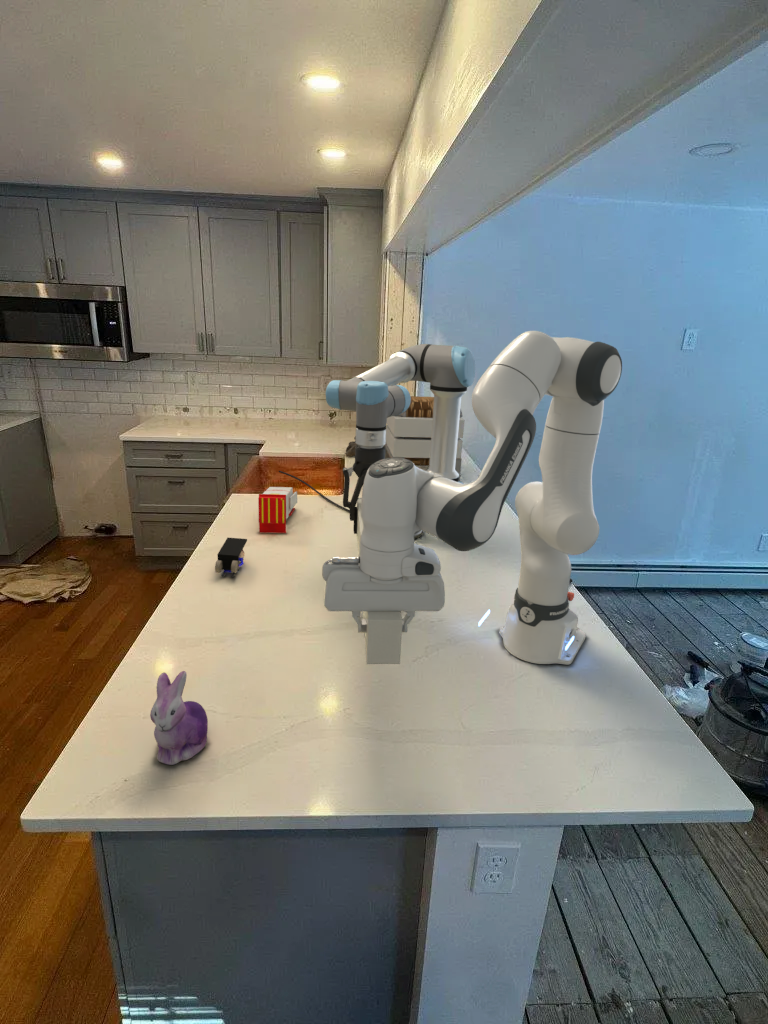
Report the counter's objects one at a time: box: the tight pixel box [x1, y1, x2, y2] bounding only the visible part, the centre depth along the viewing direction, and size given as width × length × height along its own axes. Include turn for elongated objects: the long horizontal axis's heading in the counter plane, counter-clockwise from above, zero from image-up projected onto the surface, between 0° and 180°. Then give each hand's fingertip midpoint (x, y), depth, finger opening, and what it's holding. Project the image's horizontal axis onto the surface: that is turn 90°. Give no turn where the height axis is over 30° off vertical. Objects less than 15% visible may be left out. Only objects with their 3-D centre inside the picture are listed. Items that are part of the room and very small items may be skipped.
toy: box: [257, 486, 298, 534], centre depth 206 cm, size 12×13×30 cm
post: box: [356, 497, 403, 665], centre depth 122 cm, size 62×6×8 cm, turn 4°
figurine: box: [149, 670, 209, 766], centre depth 98 cm, size 9×10×15 cm
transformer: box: [384, 395, 465, 481], centre depth 268 cm, size 34×33×41 cm
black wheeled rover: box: [214, 537, 248, 578], centre depth 166 cm, size 7×8×15 cm
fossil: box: [345, 435, 357, 458], centre depth 306 cm, size 22×10×15 cm
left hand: (367, 531), depth 148 cm, fingers closed on post, 6 cm apart
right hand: (382, 630), depth 98 cm, fingers closed on post, 5 cm apart
